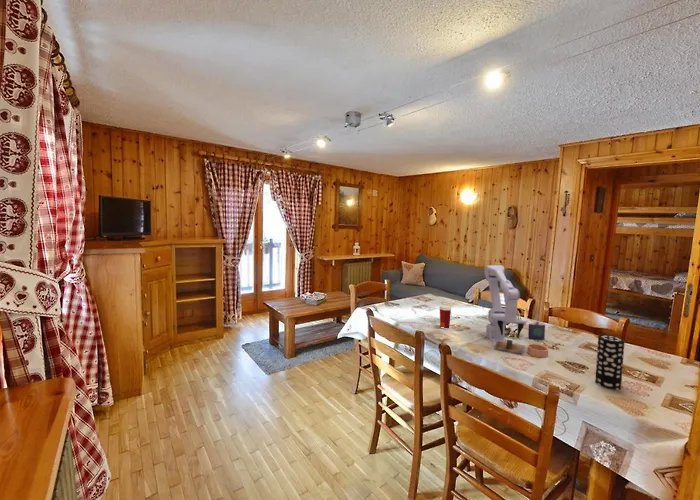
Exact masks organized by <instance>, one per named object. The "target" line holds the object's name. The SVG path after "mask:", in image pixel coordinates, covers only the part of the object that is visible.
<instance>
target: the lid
mask: <svg viewBox="0 0 700 500" xmlns="http://www.w3.org/2000/svg"><path fill="white" fill-rule="evenodd" d="M506 340H507V341H497V342H498V344H497V346H496V350H500V351H499V352H501V351H505V352H504V353H506V352H510V353H509V354H511V353H515V354H514V355H516V354H520V355H519V356H521V354H522V347H524V346H523V345H520V344H517V343H516V344H515V343H513V339H512V340H511V339H506ZM496 350H495V351H496Z"/></svg>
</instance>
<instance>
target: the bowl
mask: <svg viewBox="0 0 700 500" xmlns="http://www.w3.org/2000/svg"><path fill="white" fill-rule="evenodd" d="M527 354H528V355H530V356H532V357H536V358H545V359H546V358H548V357H549V348H548V347H547V346H545V345H541V344H538V343H537V344H536V343H529V344H527Z"/></svg>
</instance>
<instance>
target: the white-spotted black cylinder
mask: <svg viewBox="0 0 700 500" xmlns="http://www.w3.org/2000/svg"><path fill="white" fill-rule="evenodd" d="M624 351H625V339H624V338H621V337H618V336H615V335H609V334H599V335H598V336H597V351H596V363H595V379H594V383H595V384H597V385H598V384H599V385H598V386H600V385H601V386H600V387H602V386H603V388H604V389H605V388H606V389H608V390H609V389H610V390H614V391H618V390H621V389H622V380H623V369H624V368H623V365H624V356H625V355H624V353H625V352H624Z"/></svg>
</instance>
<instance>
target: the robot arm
mask: <svg viewBox="0 0 700 500" xmlns="http://www.w3.org/2000/svg"><path fill="white" fill-rule="evenodd" d="M484 276H485V280H486V281H488V287H489V293H490V294H489V295H490V300H491V306H492V308H490V309H489V310H488V314H487V315H488V316H487V319H488V321H489V323H487V324H486V327H485V328H486V329H485V330H486V331H485V332H486V333H485V337H486V338H487V339H489V340H490V341H491V342H498V341H500V342H507V340H508V339H506V338H505V336H506V335H505V332H506V331H505V329H506V326H507V324H508V323H509V324H516V325H517V336H516V338H517V339H519V338H520V334H521V332H522V330H523V328H524V326H527V321H526V320H522V319H518V318H517V317H518V315H517V314H518V302H519V300H520V298H521V292H520V291H519V289H518V288H515V287H514V285H513V283H512V282H511V281H510V280H509V279H507V278H506V274H505V267H504V265H502V264H500V265H495V264H494V265H493V264H492V265H490V264H487V265H486V266H484ZM498 281H499V283H498ZM499 286H500V288H501V289H502V291H503V292H502V293H503V299H504V307H502V302H501V296H500V289H499Z"/></svg>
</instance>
